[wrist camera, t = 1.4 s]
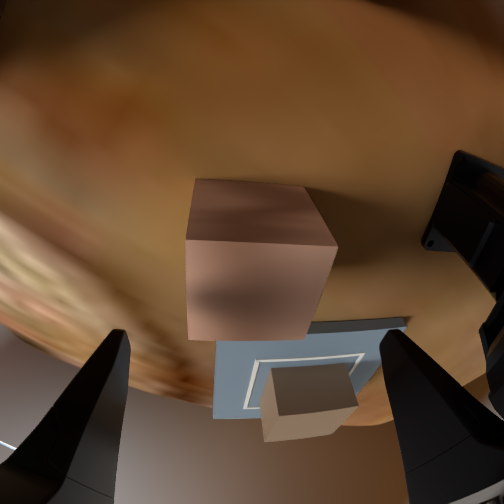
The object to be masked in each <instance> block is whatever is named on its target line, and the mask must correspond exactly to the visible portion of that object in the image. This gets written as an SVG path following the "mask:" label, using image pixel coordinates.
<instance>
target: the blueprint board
mask: <svg viewBox="0 0 504 504" xmlns="http://www.w3.org/2000/svg"><path fill="white" fill-rule="evenodd" d="M406 328H407V325H406V324H405V322H404V320H403V318H402V317H399V318H386V319H372V320H356V321H336V322H311V324H310V326H309V329H308V332H307V334H306V337H305V339H304V340H283V341H216V356H215V375H214V397H213V419H245V418H261V419H262V427H263V434H264V442H270V441H282V440H292V439H301V438H308V437H315V436H321V435H328V434H332V433H333V432H334V431H335V430H336V429H337V428H338V427H339V426H340V425H341V424H342V423H343V422H344V421H345V420H346V419H347V418H348V417H349V416H350V415H351V414H352V413H353V412H354V411H355V409H356V408H357V407H358V406H359V405H358V402H357V398H356V395H357V394H358V393H359V391H360V390H361V389H362V388H363V386H364V385H365V384H366V383H367V381H368V380H369V379H370V378H371V376H372V375H373V374H374V373H375V371H376V370H377V369H378V367H379V366H380V365H381V357H380V351H379V344H380V342H381V340H382V339H383V337H384V336H385V334H386V333H387V331H388V330H390V329H399V330H401V331H402V332H404V331H405V329H406Z"/></svg>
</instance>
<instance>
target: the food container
mask: <svg viewBox="0 0 504 504" xmlns="http://www.w3.org/2000/svg"><path fill="white" fill-rule="evenodd" d="M5 3H6V0H0V17H1V14H2V12H3V9H4V6H5Z"/></svg>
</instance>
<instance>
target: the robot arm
mask: <svg viewBox="0 0 504 504" xmlns="http://www.w3.org/2000/svg"><path fill="white" fill-rule="evenodd" d="M461 158H462V160H461ZM460 160H461V162H460ZM421 244H422V246H423V247H424V248H425V249H426V250H432V251H447V252H456V253H457V254H458V255H459V256H460V257H461V258H462V259H463V261H464V262H465V263H466V264H467V265H468V267H469V268H470V269H471V270H472V271H473V273H474V274H475V275H476V276H477V277H478V279H479V280H480V281H481V282H482V284H483V285H484V286H485V288H486V289H487V290H488V291H489V293H490V294H491V295H492V297H493V298H494V299H495V301H496V304H495V306H494V308H493V309H492V311H491V313H490V315H489V316H488V318H487V320H486V321H485V322H484V323H483V324H482V325H481V327H480V329H479V334H480V338H481V342H482V346H483V350H484V354H485V359H486V376H487V380H488V384H489V388H490V392H489V395H488V397H489V400H490V402H491V403H492V405H493V407H494V409H495V410H496V411H497V412H498V413H499V415H500V416H501V417H502V418H503V419H504V169H503V168H501V167H499V166H496V165H494V164H492V163H490V162H488V161H485V160H483V159H481V158H478V157H476V156H473V155H471V154H469V153H466V152H464V151H460V150H459V151H457V152H456V153H455V154H454V156H453V159H452V162H451V165H450V168H449V171H448V174H447V177H446V180H445V183H444V186H443V188H442V191H441V194H440V196H439V199H438V202H437V204H436V207H435V209H434V212H433V214H432V217H431V219H430V222H429V224H428V226H427V229H426V231H425V233H424V236H423V238H422V241H421ZM379 351H380V357H381V363H382V369H383V375H384V381H385V386H386V390H387V394H388V398H389V402H390V406H391V410H392V414H393V418H394V422H395V427H396V431H397V435H398V440H399V445H400V450H401V455H402V460H403V466H404V471H405V478H406V484H407V490H408V497H409V504H504V421H503V420H501V419H500V418H499V417H498V416H496V415H495V414H494V413H492V412H491V411H490V410H489V409H488V408H486V407H485V406H484V405H483V404H481V403H480V402H479V401H478V400H477V399H475V398H474V397H473V396H472V395H471V394H470V393H469V392H468V391H467V390H466V389H465V388H464V387H462V386H461V385H460V384H459V383H458V382H457V381H456V380H455V379H454V378H453V377H452V376H451V375H450V374H448V373H447V372H446V371H445V370H444V369H443V368H442V367H441V366H440V365H439V364H438V363H437V362H435V361H434V360H433V359H432V358H431V357H430V356H429V355H428V354H427V353H426V352H424V351H423V350H422V349H421V348H420V347H419V346H418V345H417V344H415V343H414V342H413V341H412V340H411V339H410V338H409V337H408V336H407V335H405V334H404V333H403V332H402V331H401V330H399V329H390V330H388V331H387V333H386V334H385V336H384V337H383V339H382V340H381V342H380V344H379ZM130 352H131V348H130V343H129V339H128V336H127V333H126V331H125V330H122V329H113V330H112V331H111V332H110V333H109V334H108V336H107V337H106V338H105V339H104V340H103V342H102V343H101V344H100V345H99V347H98V348H97V349H96V350H95V352H94V353H93V354H92V355H91V357H90V358H89V359H88V360H87V362H86V363H85V364H84V365H83V367H82V368H81V369H80V370H79V372H78V373H77V374H76V375H75V377H74V378H73V379H72V381H71V382H70V383H69V385H68V386H67V387H66V389H65V390H64V391H63V393H62V394H61V395H60V396H59V398H58V399H57V400H56V402H55V403H54V405H53V406H52V407H51V408H50V410H49V411H48V412H47V414H46V415H45V416H44V418H43V419H42V420H41V422H40V423H39V424H38V425H37V426H36V428H35V429H34V430H33V431H32V432H31V434H30V435H29V436H28V437H27V438H26V439H25V440H24V441H23V442H22V443H21V444H20V445H19V447H18V448H17V449H16V450H15V451H14V452H13V453H12V454H11V455H10V456H9V458H8V459H6V460H5V461H4V462H2V463H1V464H0V504H114V492H115V481H116V471H117V461H118V453H119V445H120V438H121V431H122V424H123V418H124V411H125V405H126V399H127V392H128V378H129V364H130Z"/></svg>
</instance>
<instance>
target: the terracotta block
mask: <svg viewBox="0 0 504 504" xmlns="http://www.w3.org/2000/svg"><path fill="white" fill-rule="evenodd" d="M337 250H338V245H337V243H336V241H335V240H334V238H333V236H332V234H331V233H330V231H329V229H328V227H327V225H326V224H325V222H324V220H323V219H322V217H321V215H320V213H319V212H318V210H317V208H316V206H315V205H314V203H313V201H312V200H311V198H310V196H309V195H308V193H307V191H306V190H305V188H304V187H303V186H294V185H283V184H272V183H260V182H246V181H231V180H214V179H195V184H194V190H193V196H192V202H191V208H190V214H189V220H188V227H187V233H186V295H187V320H188V340H206V341H283V340H304V339H305V337H306V334H307V332H308V329H309V326H310V324H311V321H312V319H313V316H314V314H315V311H316V308H317V306H318V303H319V300H320V298H321V295H322V292H323V290H324V287H325V284H326V281H327V279H328V276H329V273H330V270H331V267H332V264H333V261H334V259H335V256H336V253H337Z"/></svg>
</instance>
